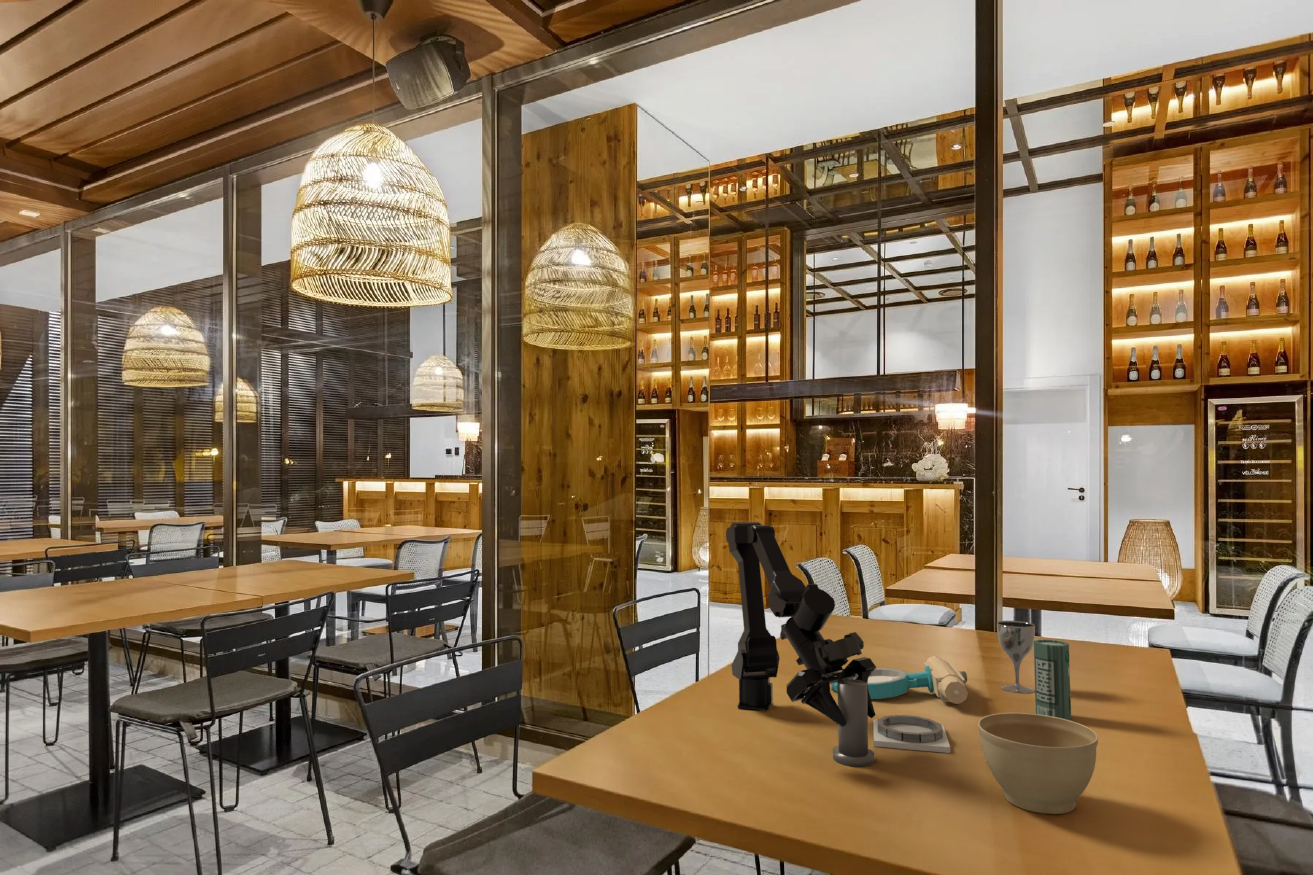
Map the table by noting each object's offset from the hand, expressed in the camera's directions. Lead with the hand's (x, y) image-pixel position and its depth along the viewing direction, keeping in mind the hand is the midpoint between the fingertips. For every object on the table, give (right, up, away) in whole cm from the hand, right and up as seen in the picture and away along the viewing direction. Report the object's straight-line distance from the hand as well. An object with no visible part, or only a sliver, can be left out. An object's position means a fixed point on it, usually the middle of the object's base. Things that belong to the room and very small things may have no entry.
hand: (859, 720), depth 131 cm
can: (+46, -8, +24) cm, 53 cm away
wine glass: (+49, -10, +45) cm, 67 cm away
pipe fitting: (-1, -7, +1) cm, 7 cm away
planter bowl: (+22, -6, -17) cm, 29 cm away
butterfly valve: (+20, -10, +42) cm, 47 cm away
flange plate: (+13, -7, +12) cm, 19 cm away
